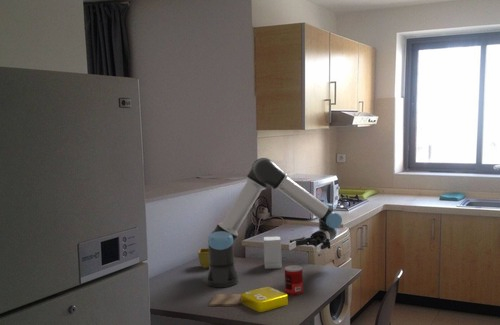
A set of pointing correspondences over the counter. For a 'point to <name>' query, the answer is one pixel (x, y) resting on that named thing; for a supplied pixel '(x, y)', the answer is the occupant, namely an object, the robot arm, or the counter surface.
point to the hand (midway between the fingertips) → (303, 248)
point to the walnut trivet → (225, 300)
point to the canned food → (293, 280)
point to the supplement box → (272, 252)
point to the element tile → (264, 299)
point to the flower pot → (204, 257)
